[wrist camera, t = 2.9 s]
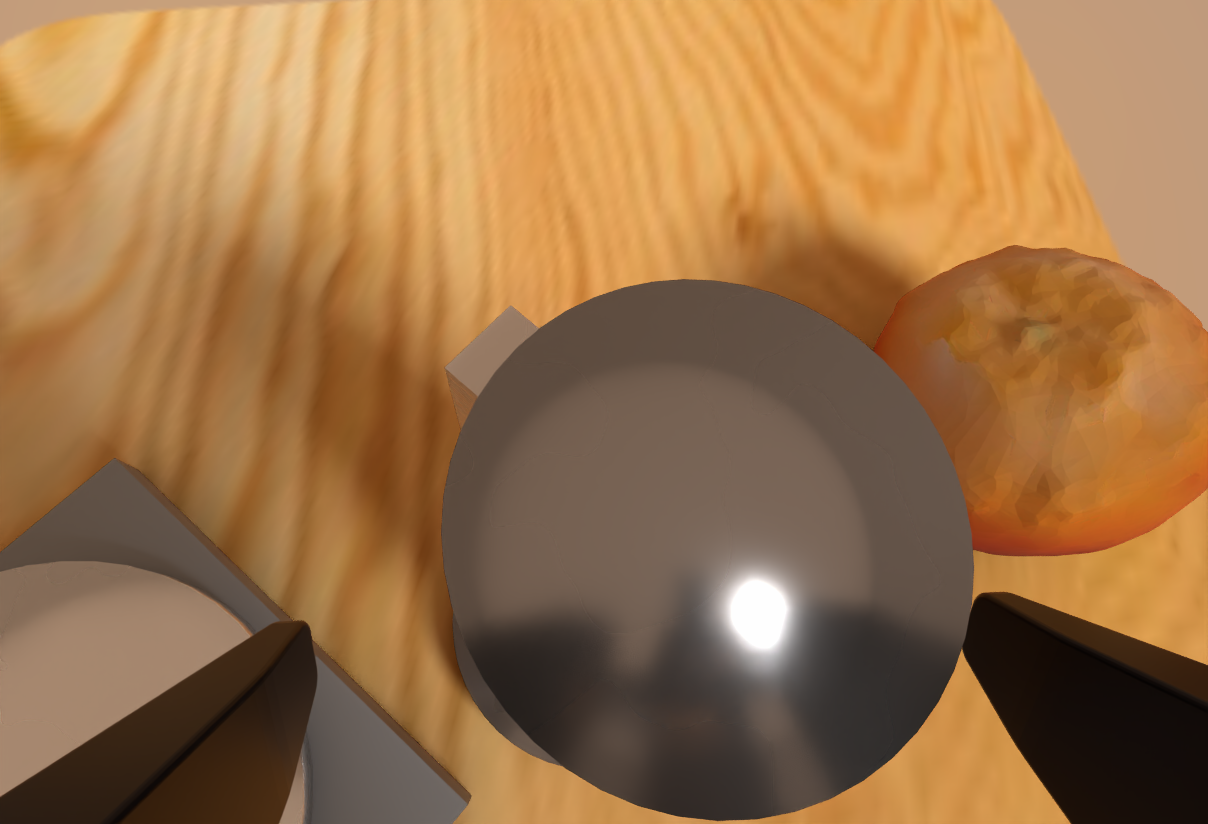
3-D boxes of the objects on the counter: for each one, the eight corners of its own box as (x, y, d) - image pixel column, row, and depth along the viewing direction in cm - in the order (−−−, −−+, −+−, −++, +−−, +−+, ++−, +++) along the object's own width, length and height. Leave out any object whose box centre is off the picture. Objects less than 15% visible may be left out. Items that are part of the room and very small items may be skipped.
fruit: (1146, 664, 18) (1243, 541, 12) (843, 559, 23) (804, 430, 17) (1202, 409, 21) (1303, 206, 15) (922, 359, 26) (914, 186, 19)
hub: (607, 830, 17) (810, 1213, 5) (398, 632, 18) (144, 550, 6) (772, 602, 19) (1188, 486, 7) (578, 437, 20) (658, 93, 8)
